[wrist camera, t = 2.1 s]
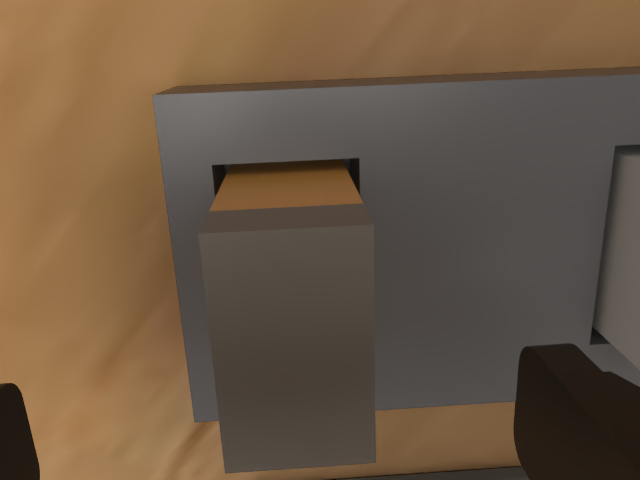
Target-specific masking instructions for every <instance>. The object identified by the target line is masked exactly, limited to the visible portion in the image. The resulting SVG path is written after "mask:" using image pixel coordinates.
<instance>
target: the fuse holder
mask: <svg viewBox="0 0 640 480" xmlns="http://www.w3.org/2000/svg"><path fill="white" fill-rule="evenodd" d="M152 96H153V104H154V111H155V119H156V127H157V135H158V142H159V150H160V158H161V166H162V173H163V181H164V189H165V197H166V204H167V212H168V220H169V228H170V235H171V243H172V251H173V259H174V266H175V274H176V282H177V290H178V298H179V305H180V313H181V321H182V329H183V336H184V344H185V352H186V360H187V367H188V375H189V383H190V391H191V398H192V406H193V414H194V422H207V421H219V414H218V405H217V397H216V388H215V379H214V370H213V361H212V352H211V343H210V334H209V325H208V316H207V308H206V299H205V290H204V281H203V272H202V263H201V254H200V245H199V236H198V233H199V231H200V229H201V227H202V225H203V223H204V221H205V218H206V216H207V214H208V212H209V210H210V208H211V206H212V204H213V201H214V199H215V197H216V195H217V193H218V191H219V189H220V187H221V185H222V182H223V180H224V178H225V176H226V174H227V172H228V170H229V168H230V166H231V164H244V163H265V162H286V161H307V160H328V159H342V160H343V162H344V164H345V166H346V168H347V170H348V172H349V175H350V177H351V179H352V181H353V183H354V185H355V187H356V189H357V191H358V193H359V195H360V197H361V199H362V201H363V203H364V206H365V208H366V210H367V212H368V214H369V216H370V218H371V220H372V222H373V224H374V321H375V410H390V409H406V408H421V407H436V406H451V405H467V404H482V403H497V402H513V401H516V390H517V378H518V365H519V357H520V353H521V351H522V349H523V348H524V347H526V346H536V345H550V344H563V343H573V344H575V345H576V346H577V347H578V348H579V349H580V350H581V351H582V352H583V353H584V354H585V355H586V356H587V357H588V358H589V359H590V360H591V361H592V362H593V363H594V364H595V365H597V366H598V367H599V368H600V369H601V370H602V371H603V372H608V371H611V372H613V373H615V374H617V375H618V376H620V377H622V378H624V379H626V380H628V381H630V382H631V383H633V384H635V385H637V386H639V387H640V370H639V369H638V368H637V367H636V366H635V365H634V364H633V363H631V362H630V361H629V360H628V359H627V358H626V357H625V356H624V355H623V354H622V353H621V352H620V351H618V350H617V349H616V348H615V347H614V346H613V345H612V344H611V343H610V342H609V341H608V340H606V339H605V338H604V337H603V336H602V335H601V334H600V333H599V332H598V331H597V330H596V329H594V328H593V327H592V322H593V314H594V307H595V299H596V291H597V283H598V275H599V268H600V260H601V252H602V244H603V236H604V229H605V221H606V213H607V205H608V198H609V190H610V182H611V174H612V166H613V159H614V151H615V146H619V145H639V144H640V67H621V68H597V69H574V70H551V71H527V72H504V73H480V74H457V75H433V76H410V77H387V78H363V79H340V80H316V81H293V82H269V83H246V84H222V85H199V86H176V87H173V88H171V89H168V90H165V91H162V92H160V93H157V94H154V95H152Z"/></svg>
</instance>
